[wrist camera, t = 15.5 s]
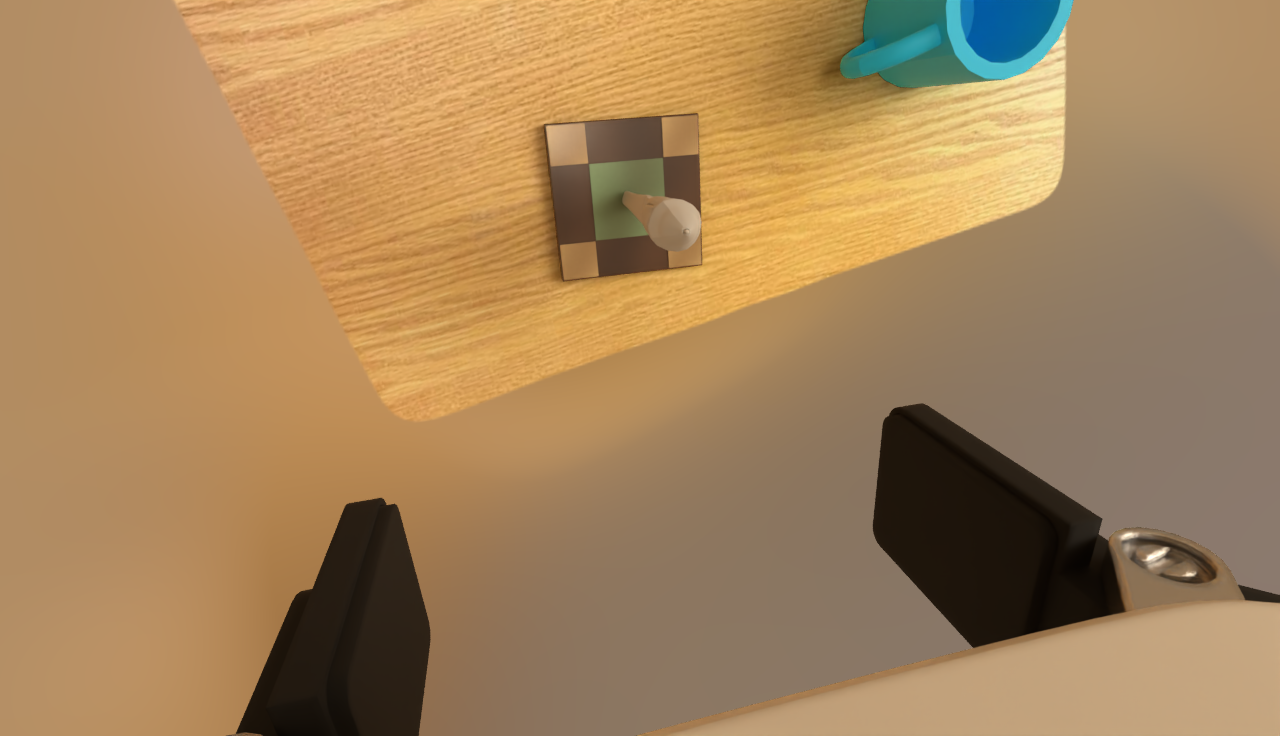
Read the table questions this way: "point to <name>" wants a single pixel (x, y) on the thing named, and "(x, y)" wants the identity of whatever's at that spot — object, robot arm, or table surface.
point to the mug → (954, 40)
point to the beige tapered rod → (665, 219)
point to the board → (619, 191)
